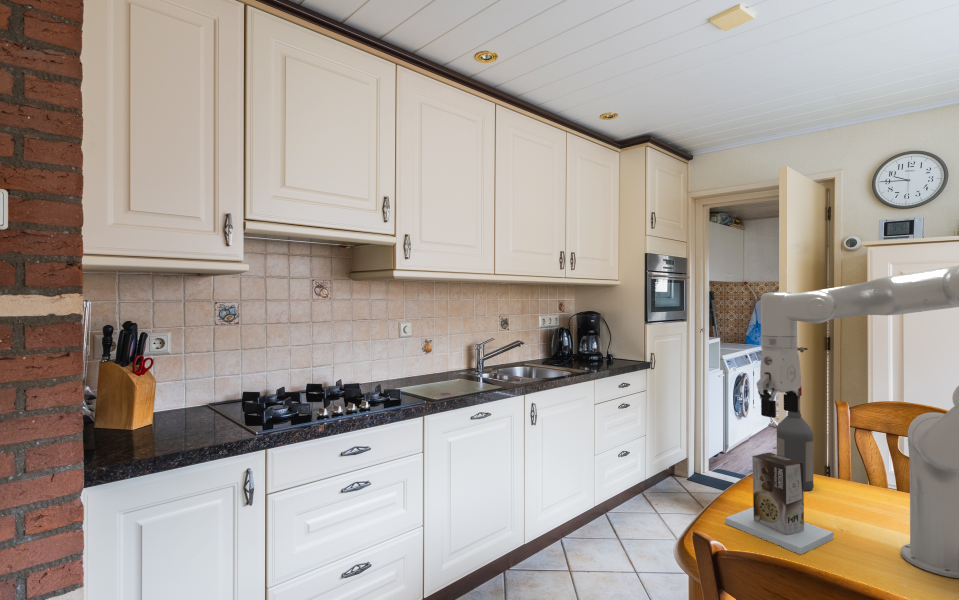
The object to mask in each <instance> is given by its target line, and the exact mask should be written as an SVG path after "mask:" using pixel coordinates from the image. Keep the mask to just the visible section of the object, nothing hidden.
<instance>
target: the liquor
mask: <svg viewBox="0 0 959 600" xmlns="http://www.w3.org/2000/svg"><path fill="white" fill-rule="evenodd" d="M798 391H799V395H798V412H790V411H787V415H786V416H785V418H783V419H782V420H781V421H780V422H779V423H778V424H777V425H776V426H777V427H776V454H777V455H780V456H784V457H787V458H790V459H794V460H797V461H801V462H803V485H804V492H808V491H807V490H809V491H812V490H814V435H813V430H812V428H811V426H810V425H809V424H808V422H806V420H804V418H803V416H802V413H801V396H802V395H803V393H802V392H803V391H802V386H801V387H800V388H799V390H798Z"/></svg>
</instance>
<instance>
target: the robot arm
mask: <svg viewBox="0 0 959 600" xmlns="http://www.w3.org/2000/svg"><path fill="white" fill-rule="evenodd" d="M953 308H959V265H954V266H948V267H942V268H935V269H928V270H923V271H922V270H921V271H915V272H909V273H903V274H898V275H897V274H896V275H891V276H890V275H889V276H885V277H880V278H877V279H873V280H869V281H865V282H860V283H854V284H850V285H841V286H837V287H831V288H830V287H829V288H824V289H823V288H822V289H816V290H811V291H810V290H809V291H803V292H794V293H793V292H790V291H774V292H772V291H771V292H765V293H763V294H762V295H761V296H760V341H761V342H760V344H761V347H760V348H761V357H760V369H759V370H760V373H759V375H760V376H759V380H758V381H756V388H757V393H758V395H759V399H760V412H761V413H760V414H761V416H762V417H766V418H772V419H775V418H776V417H777V402H776V400H775V397H776V395H777V393H778V392H779V393H785V394H783V410H784V411H786V412H788V411H790V412H798V395H799V391H798V390H799V388H800V387H801V388H802V373H801V371H802V370H801V363H800V362H801V361H800V355H799V351H798V350H799V349H798V322H803V323H810V324H811V323H812V324H823V323H825V322H827V321H830V320H837V319H842V318H850V317H851V318H852V317H862V316H863V317H864V316H898V315H900V316H901V315H906V314H913V313H921V312H929V311H937V310H944V309H945V310H946V309H953ZM951 398H952V399H951V400H952V403H953V407H951V408H950V409H949V410H948V411H946V412H945V413H943V412H933V411H932V412H925V413H922V414H919V415H917V416H916V417H915V418H914V419H913V420H912V421H911V422H910V424H909V427H908V429H907V447H908V457H909V543H906V544H904V545H902V546H901V547H900V555H901V557H902V558H903V559H904V560H906V561H907V562H908V563H910V564H912V565H913V566H914V567H916V568H919V569H922V570H924V571H926V572H930V573H933V574H936V575H939V576H943V577H949V578H953V579H954V578H955V579H959V385H958V386H956V387H955V388H954V391H953V393H952V397H951Z"/></svg>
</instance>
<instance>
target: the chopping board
mask: <svg viewBox="0 0 959 600" xmlns="http://www.w3.org/2000/svg"><path fill="white" fill-rule="evenodd" d="M724 524H725V525H728V526H730V527H733V528H734V529H738V530H740V531H742V532H744V531H745V533H747V534H749V535H752V536H754V537H757V538H759V539H761V538H762V539H761V540H764V541H766V540H767V542H769V543H771V542H773V543H774V545H776V544H777V545H776V546H778V545H780V546H779V547H781V546H782V547H781V548H783V547H784V548H783V549H785V548H786V550H788V551H791V552H793V553H795V552H796V553H795V554H798V555H800V554H802V555H804V554H806V553H808V552H810V551H811V550H813V549H815V548H817V547H820V546H822V545H824V544H826V543H828V542H830V541H832V540H834V532H833V531H830V530H828V529H824V528H822V527H820V526H816V525H814V524H812V523H808V522H806V521H804V531H800V532H796V533H792V534H788V535H786V534H784V533H782V532H780V531H777V530H775V529H773V528H770V527H768V526H766V525H764V524H761V523H759V522H757V521H755V520H754V512H753V507H750V508H748V509H744V510H742V511H739V512H737V513H734V514H731V515H729V516H726V517H725V518H724ZM773 543H772V544H773ZM807 551H808V552H807ZM805 552H806V553H805ZM803 553H804V554H803Z"/></svg>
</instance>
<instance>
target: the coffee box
mask: <svg viewBox="0 0 959 600" xmlns="http://www.w3.org/2000/svg"><path fill="white" fill-rule="evenodd" d="M751 457H752V493H753V494H752V496H753V497H752V500H753V501H752V503H753V505H752V506H753V512H754V520H755V521H757V522H759V523H761V524H764V525H766V526H768V527H770V528H773V529H775V530H777V531H780V532H782V533H784V534H786V535H788V534H792V533H796V532H800V531H804V522H805V512H804V509H805V504H804V502H805V501H804V499H805V497H804V496H805V494H804V492H805V491H804V485H803V462H801V461H797V460H794V459H790V458H787V457H784V456H780V455H777V453H772V452H764V453H760V454H757V455H752V456H751Z"/></svg>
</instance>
